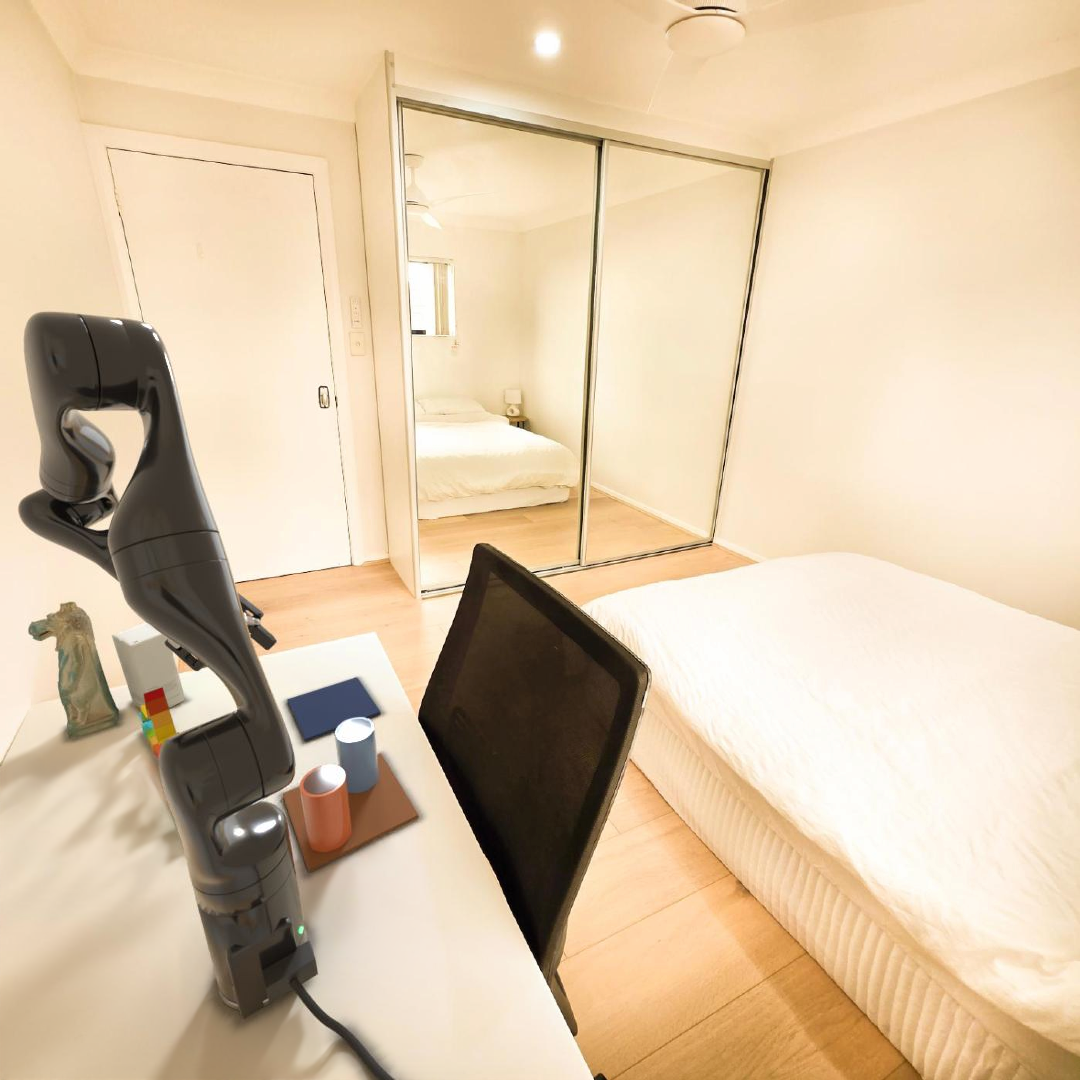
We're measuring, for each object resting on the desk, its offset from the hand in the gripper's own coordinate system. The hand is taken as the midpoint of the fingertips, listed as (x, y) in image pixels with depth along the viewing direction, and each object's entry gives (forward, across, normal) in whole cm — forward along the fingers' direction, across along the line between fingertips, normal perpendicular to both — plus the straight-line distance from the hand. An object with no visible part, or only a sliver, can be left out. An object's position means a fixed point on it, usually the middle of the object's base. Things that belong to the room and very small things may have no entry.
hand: (257, 660), depth 80 cm
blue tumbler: (+25, +1, +6) cm, 26 cm away
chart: (+4, 0, +28) cm, 29 cm away
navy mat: (+17, +19, +15) cm, 29 cm away
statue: (-12, +9, +45) cm, 47 cm away
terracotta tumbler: (+25, -10, +6) cm, 28 cm away
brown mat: (+26, -4, +6) cm, 27 cm away
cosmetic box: (-8, +17, +40) cm, 44 cm away
